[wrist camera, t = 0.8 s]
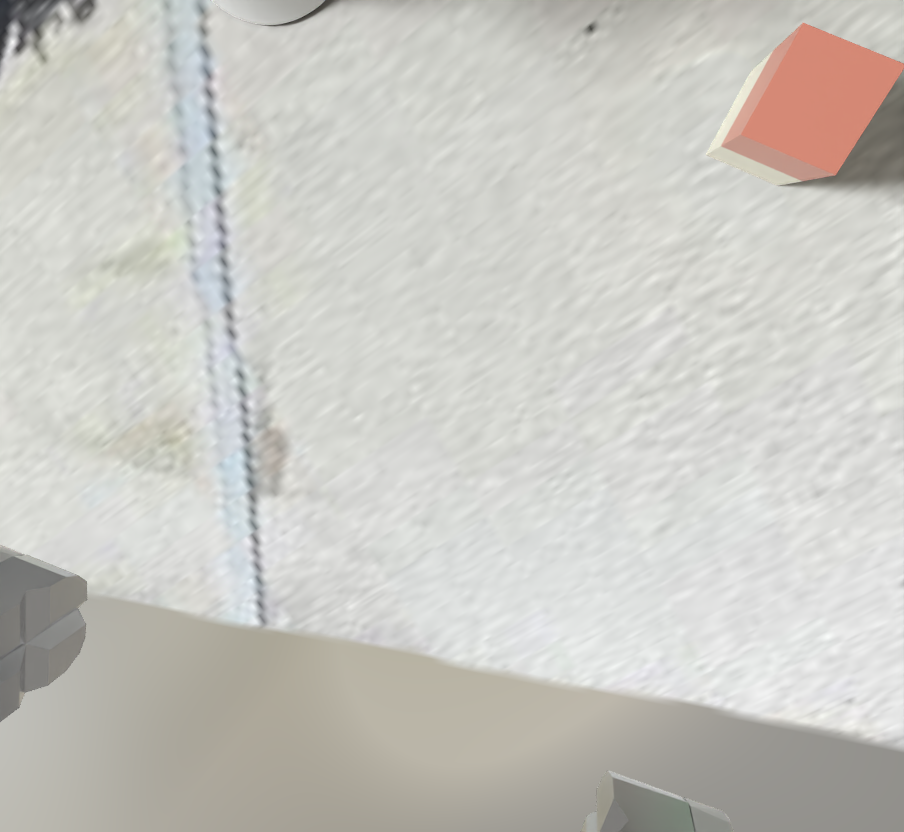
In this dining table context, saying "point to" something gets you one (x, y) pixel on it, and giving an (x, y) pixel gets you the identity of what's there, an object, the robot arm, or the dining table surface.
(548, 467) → the dining table surface
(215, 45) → the dining table surface
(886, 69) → the pink and cream block
